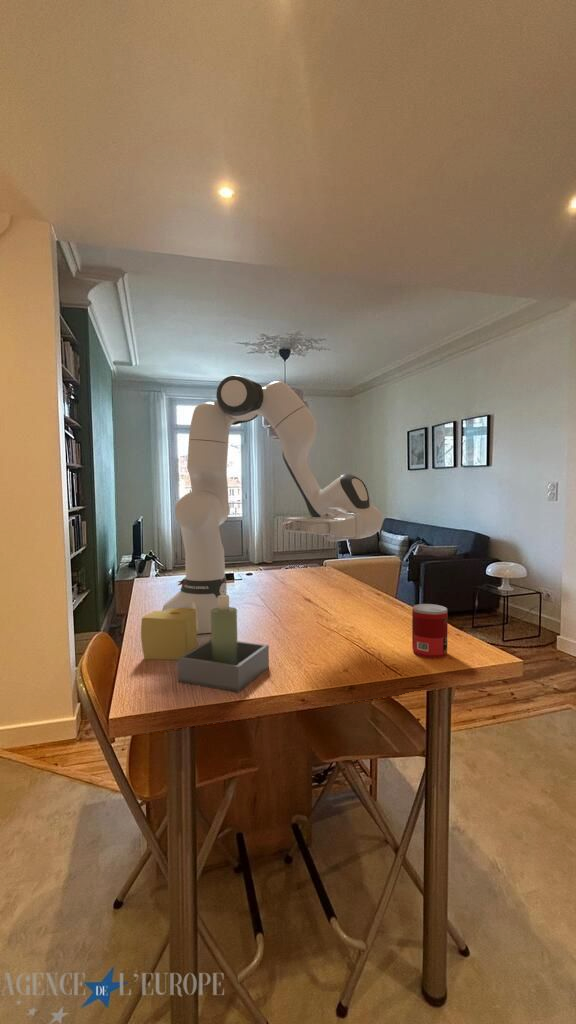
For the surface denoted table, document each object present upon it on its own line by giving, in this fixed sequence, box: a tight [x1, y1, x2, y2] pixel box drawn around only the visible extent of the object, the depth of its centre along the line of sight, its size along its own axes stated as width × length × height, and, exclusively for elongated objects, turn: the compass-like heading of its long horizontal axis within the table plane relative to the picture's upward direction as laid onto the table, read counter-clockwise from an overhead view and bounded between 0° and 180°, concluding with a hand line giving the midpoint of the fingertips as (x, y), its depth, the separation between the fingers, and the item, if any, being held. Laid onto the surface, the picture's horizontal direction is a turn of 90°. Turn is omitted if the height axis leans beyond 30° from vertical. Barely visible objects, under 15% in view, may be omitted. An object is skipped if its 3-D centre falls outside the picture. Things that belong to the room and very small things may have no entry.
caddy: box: [177, 639, 270, 693], centre depth 101 cm, size 14×14×5 cm
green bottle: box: [210, 594, 238, 665], centre depth 101 cm, size 6×6×16 cm
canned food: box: [411, 603, 449, 659], centre depth 113 cm, size 8×8×11 cm
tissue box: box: [140, 608, 198, 661], centre depth 114 cm, size 10×11×10 cm
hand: (296, 527), depth 115 cm, fingers open, 8 cm apart
